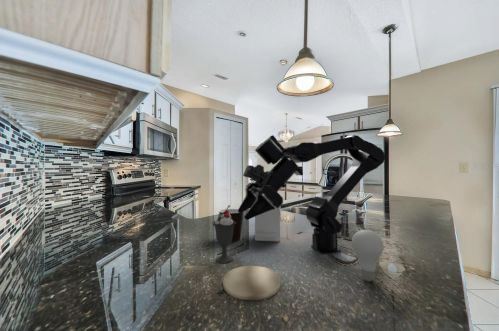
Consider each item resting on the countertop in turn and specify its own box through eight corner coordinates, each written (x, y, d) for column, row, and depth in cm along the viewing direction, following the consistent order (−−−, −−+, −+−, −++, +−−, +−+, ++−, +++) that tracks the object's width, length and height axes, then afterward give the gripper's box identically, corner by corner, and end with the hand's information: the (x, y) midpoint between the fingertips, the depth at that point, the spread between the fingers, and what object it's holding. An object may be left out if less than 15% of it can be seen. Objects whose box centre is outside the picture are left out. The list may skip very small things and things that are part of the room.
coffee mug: (242, 243, 72) (242, 213, 73) (217, 243, 72) (217, 213, 73) (244, 233, 84) (244, 207, 84) (222, 233, 84) (222, 207, 84)
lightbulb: (384, 291, 43) (383, 235, 43) (350, 283, 46) (349, 231, 46) (384, 278, 48) (383, 229, 48) (354, 272, 51) (353, 225, 52)
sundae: (233, 266, 55) (233, 206, 55) (208, 263, 56) (208, 205, 57) (239, 256, 61) (239, 203, 62) (217, 254, 63) (217, 202, 63)
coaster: (269, 268, 53) (268, 263, 53) (289, 295, 42) (289, 289, 42) (220, 274, 50) (220, 268, 50) (227, 304, 39) (227, 297, 39)
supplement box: (280, 242, 73) (280, 198, 74) (254, 241, 75) (254, 197, 75) (281, 234, 82) (280, 195, 83) (257, 233, 84) (257, 195, 84)
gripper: (252, 158, 71) (218, 192, 68) (271, 153, 53) (226, 199, 50) (274, 181, 73) (242, 216, 70) (300, 184, 55) (258, 231, 52)
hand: (241, 215), depth 60 cm, fingers open, 9 cm apart
